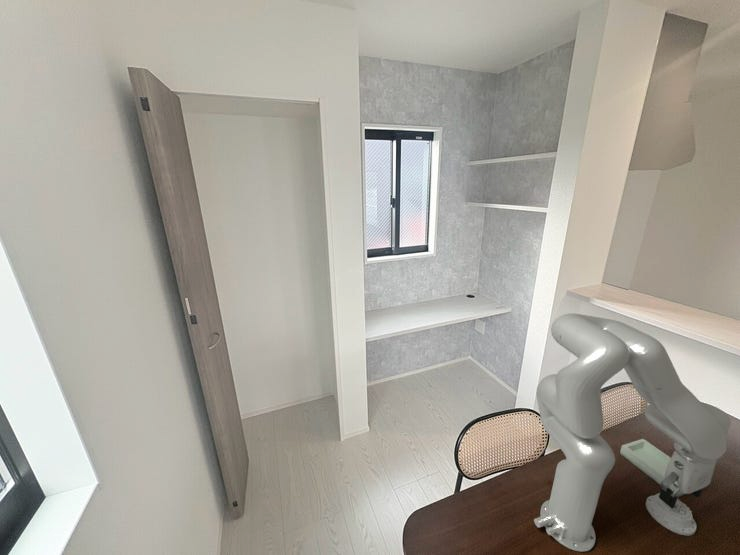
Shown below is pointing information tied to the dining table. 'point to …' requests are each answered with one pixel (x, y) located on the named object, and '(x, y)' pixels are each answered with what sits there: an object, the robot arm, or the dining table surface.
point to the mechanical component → (672, 515)
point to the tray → (648, 460)
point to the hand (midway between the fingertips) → (678, 497)
